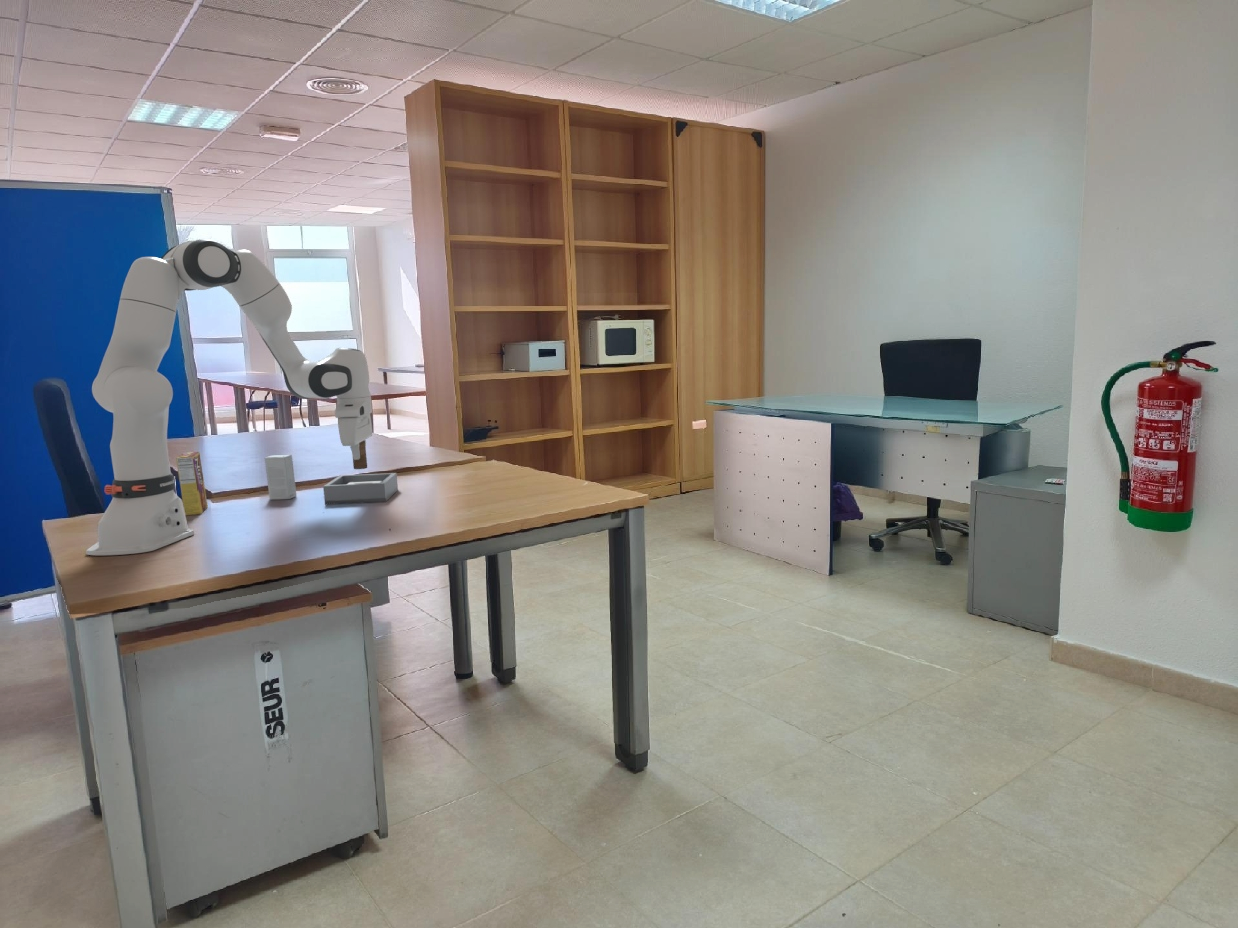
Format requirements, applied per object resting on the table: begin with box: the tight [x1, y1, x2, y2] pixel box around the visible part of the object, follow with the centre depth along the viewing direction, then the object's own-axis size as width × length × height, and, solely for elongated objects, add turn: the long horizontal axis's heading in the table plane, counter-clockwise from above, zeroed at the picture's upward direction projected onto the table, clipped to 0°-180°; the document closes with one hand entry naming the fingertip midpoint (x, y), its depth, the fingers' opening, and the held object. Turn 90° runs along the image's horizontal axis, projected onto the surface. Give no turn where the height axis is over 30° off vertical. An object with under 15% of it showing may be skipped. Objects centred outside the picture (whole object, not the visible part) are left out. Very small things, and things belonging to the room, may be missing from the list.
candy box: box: [175, 451, 208, 516], centre depth 207 cm, size 9×4×15 cm, turn 17°
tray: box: [322, 472, 399, 505], centre depth 220 cm, size 16×16×5 cm
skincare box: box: [264, 454, 297, 501], centre depth 222 cm, size 6×4×12 cm
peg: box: [351, 441, 368, 470], centre depth 218 cm, size 4×4×8 cm
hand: (359, 457), depth 218 cm, fingers closed on peg, 4 cm apart
